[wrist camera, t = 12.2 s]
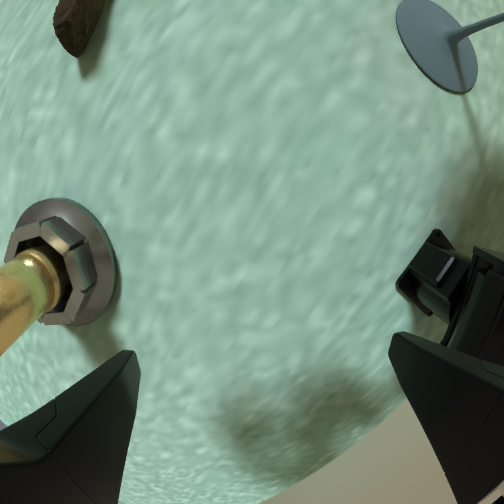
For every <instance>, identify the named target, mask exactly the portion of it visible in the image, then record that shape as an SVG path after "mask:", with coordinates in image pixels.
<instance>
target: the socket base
mask: <svg viewBox="0 0 504 504" xmlns="http://www.w3.org/2000/svg"><path fill="white" fill-rule="evenodd" d="M46 242H47V243H49V244H50V245H51V246H52V247H53V248H54V249H56V250H57V251H58V252H59V253H60V254H62V255H63V257H64V260H65V264H66V267H67V271H68V274H69V277H70V280H71V284H72V288H71V289H70V290H69V291H68V292H67V293H66V294H64V295H63V298H62V300H61V301H60V302H59V303H58V304H57V305H56V306H55V307H54V308H53V309H52V310H51V311H49V312H47V313H44V314H42V315H41V316H40V317H39V318H38V319H37V320H38V321H39V322H40V323H41V324H42V323H43V322H44V324H45V325H58V324H63V325H69V326H78V325H84V324H87V323H89V322H91V321H93V320H94V319H96V318H97V317H98V316H99V315H100V314H101V313H102V312H103V310H104V309H105V308H106V307H107V305H108V304H109V302H110V300H111V298H112V296H113V293H114V290H115V286H116V279H117V268H116V259H115V254H114V251H113V247H112V244H111V242H110V240H109V237H108V235H107V233H106V231H105V230H104V228H103V226H102V225H101V224H100V222H99V221H98V219H97V218H96V217H95V216H94V215H93V214H92V213H91V212H90V211H89V210H88V209H86V208H85V207H84V206H82V205H81V204H79V203H77V202H75V201H73V200H69V199H66V198H50V199H46V200H42V201H39V202H37V203H35V204H33V205H32V206H30V207H29V208H28V209H27V210H26V211H25V212H24V213H23V214H22V216H21V217H20V219H19V220H18V222H17V225H16V227H15V229H14V232H12V233H11V237H10V240H9V244H8V247H7V251H6V255H5V259H4V262H5V263H8V262H10V261H12V260H13V259H14V258H15V257H16V256H17V255H18V254H19V253H21V252H23V251H25V250H27V249H29V248H31V247H38V246H40V245H42V244H44V243H46Z"/></svg>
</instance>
